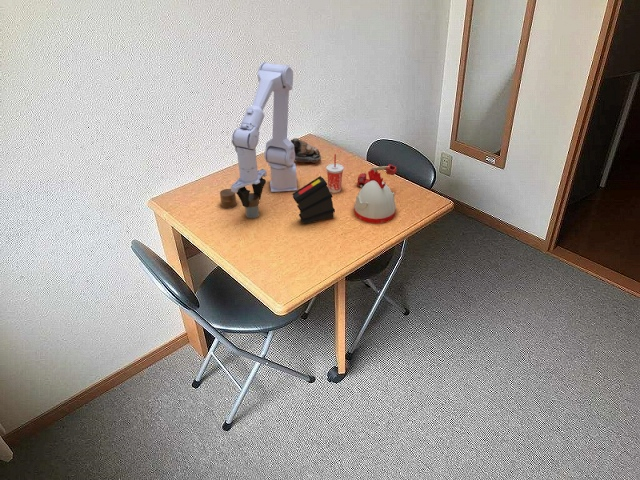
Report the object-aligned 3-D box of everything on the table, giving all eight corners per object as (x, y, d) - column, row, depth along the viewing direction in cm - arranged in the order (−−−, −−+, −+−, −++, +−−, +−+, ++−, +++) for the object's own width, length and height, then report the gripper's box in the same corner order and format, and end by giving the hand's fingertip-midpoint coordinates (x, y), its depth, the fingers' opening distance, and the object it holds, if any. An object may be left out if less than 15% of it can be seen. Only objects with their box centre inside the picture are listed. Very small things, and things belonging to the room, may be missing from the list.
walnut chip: (259, 198, 163) (258, 192, 162) (259, 206, 159) (259, 200, 158) (243, 199, 163) (243, 193, 161) (243, 207, 158) (243, 201, 157)
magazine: (343, 212, 161) (325, 180, 151) (309, 234, 161) (289, 202, 151) (339, 207, 164) (321, 174, 154) (306, 228, 164) (286, 196, 154)
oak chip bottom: (236, 200, 171) (235, 194, 170) (236, 207, 167) (235, 201, 166) (221, 201, 171) (220, 195, 169) (221, 208, 167) (220, 202, 165)
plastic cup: (259, 210, 165) (258, 199, 163) (259, 217, 162) (258, 206, 159) (246, 211, 165) (244, 200, 162) (246, 218, 161) (245, 207, 159)
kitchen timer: (378, 197, 172) (381, 159, 164) (403, 215, 163) (408, 175, 154) (346, 208, 166) (347, 169, 158) (370, 227, 157) (373, 186, 148)
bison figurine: (320, 157, 198) (320, 134, 192) (321, 165, 193) (321, 141, 187) (291, 158, 198) (290, 135, 192) (291, 166, 192) (290, 142, 186)
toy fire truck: (358, 182, 181) (360, 159, 176) (394, 189, 177) (397, 165, 172) (356, 186, 179) (357, 162, 173) (392, 193, 175) (394, 169, 169)
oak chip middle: (231, 193, 171) (230, 187, 169) (238, 199, 167) (237, 193, 166) (217, 197, 168) (217, 191, 167) (225, 203, 165) (224, 197, 163)
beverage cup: (334, 195, 174) (334, 160, 166) (322, 189, 177) (322, 154, 169) (346, 190, 177) (347, 154, 169) (335, 183, 181) (335, 149, 173)
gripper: (240, 178, 146) (244, 216, 154) (272, 160, 156) (275, 197, 163) (224, 171, 150) (229, 209, 157) (256, 154, 159) (259, 191, 167)
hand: (251, 202), depth 161 cm, fingers closed on walnut chip, 5 cm apart
